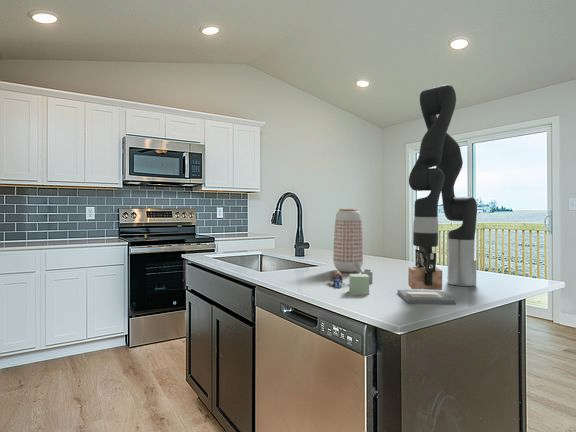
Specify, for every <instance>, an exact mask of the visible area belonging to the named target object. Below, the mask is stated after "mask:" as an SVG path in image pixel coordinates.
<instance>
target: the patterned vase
mask: <svg viewBox="0 0 576 432" xmlns="http://www.w3.org/2000/svg"><path fill="white" fill-rule="evenodd" d="M333 232H334V233H333V236H334V237H333V250H332V251H333V254H332V255H333V257H332V260H333V261H332V262H333V265H334V267H335V269H336V270H338V271H339V272H341V273H342V274H343V273H344V274H357V273H358V272H357V269H356V267H355V265H354V263H355V262H358V264H359V266H360V268H362V266H363V263H364V251H363V250H364V245H363V243H364V241H363V222H362V214H361V212H360V211H359V209H356V208H354V209H352V208H351V209H350V208H349V209H348V208H346V209H345V208H342V209H341V208H339V210H338V211H337V212H336V214H335V222H334V231H333Z"/></svg>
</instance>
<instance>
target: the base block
mask: <svg viewBox="0 0 576 432" xmlns="http://www.w3.org/2000/svg"><path fill="white" fill-rule="evenodd" d="M424 273H425V272H424V267H416V266H408V274H407V275H408V282H407V283H408V284H407V285H408V286H409V288H411V290H440V291H442V290H443V270H442V269H440V268H438V267H436V271H435V272H433V274H432V285H431V286H426V285H425V284H424Z"/></svg>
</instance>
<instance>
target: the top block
mask: <svg viewBox="0 0 576 432" xmlns="http://www.w3.org/2000/svg"><path fill="white" fill-rule="evenodd" d="M348 274H349V276H348V277H349V281H348V282H349V283H348V285H349V287H348V292H349V294H350V295H370V283H369V276H368V275H367V274H361V273H348Z"/></svg>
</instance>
